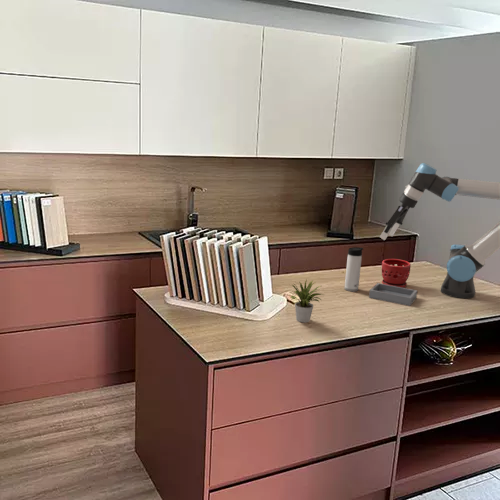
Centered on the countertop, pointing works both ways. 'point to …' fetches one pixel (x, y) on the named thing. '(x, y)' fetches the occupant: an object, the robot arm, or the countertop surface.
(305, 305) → the house plant
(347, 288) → the travel mug
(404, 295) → the tray
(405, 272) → the plant pot
